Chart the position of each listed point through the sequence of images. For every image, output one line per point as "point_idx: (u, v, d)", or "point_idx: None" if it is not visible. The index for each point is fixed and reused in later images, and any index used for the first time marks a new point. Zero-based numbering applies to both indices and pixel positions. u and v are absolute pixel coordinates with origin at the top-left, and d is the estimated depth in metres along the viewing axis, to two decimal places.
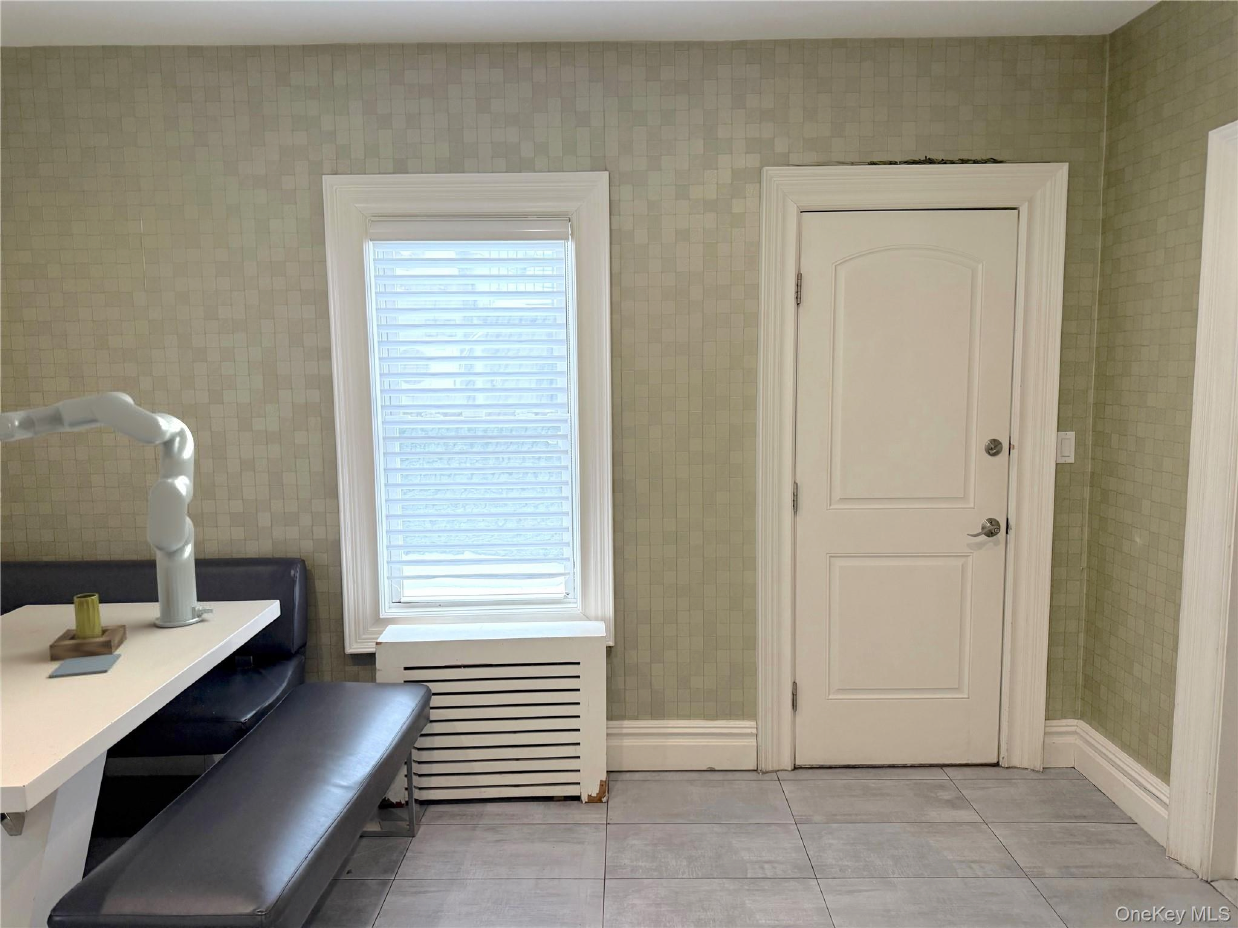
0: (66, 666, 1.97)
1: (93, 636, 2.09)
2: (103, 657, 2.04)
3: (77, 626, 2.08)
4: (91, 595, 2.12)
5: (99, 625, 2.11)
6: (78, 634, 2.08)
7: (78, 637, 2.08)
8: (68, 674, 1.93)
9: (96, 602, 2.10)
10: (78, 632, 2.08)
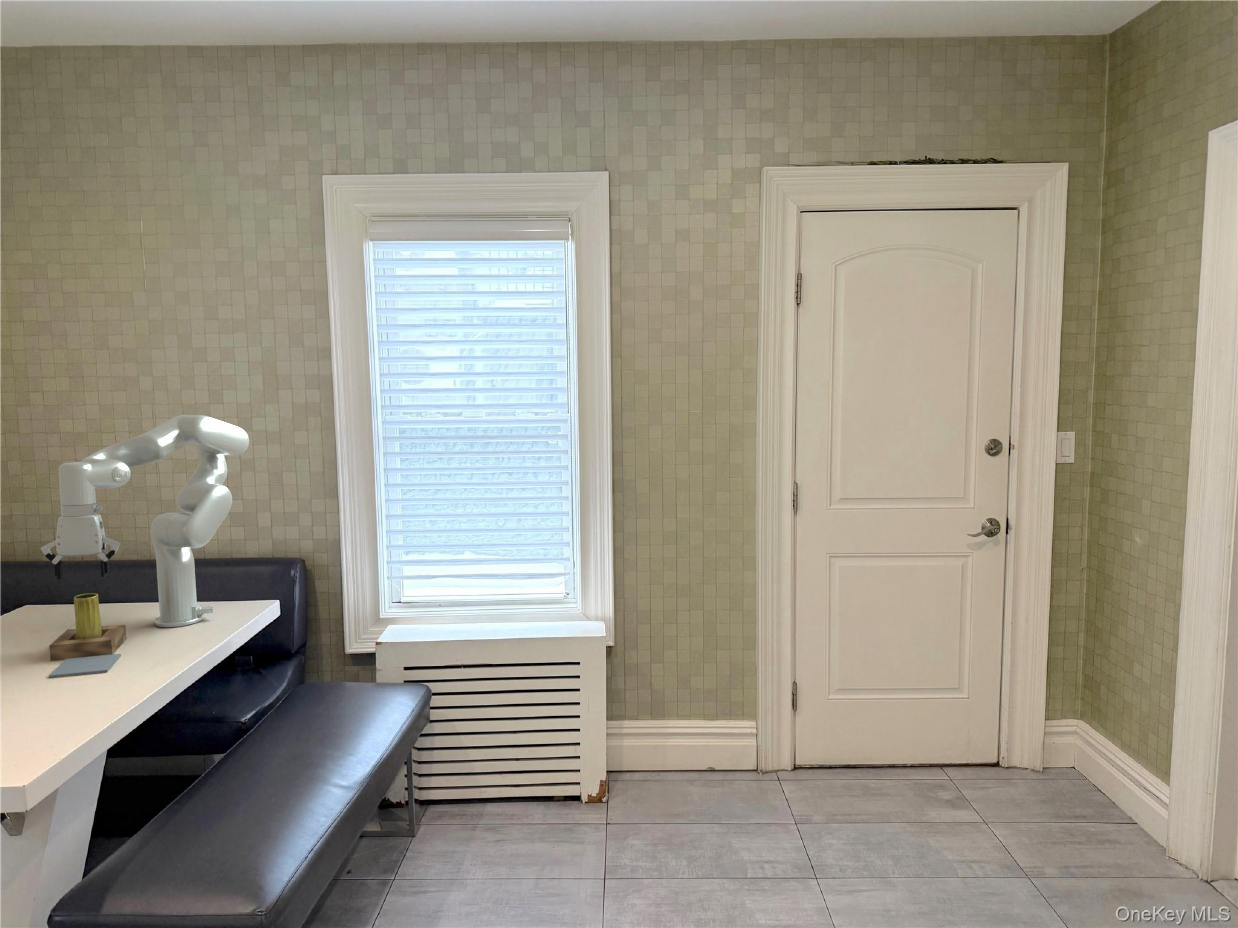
0: (66, 666, 1.97)
1: (93, 636, 2.09)
2: (103, 657, 2.04)
3: (77, 626, 2.08)
4: (91, 595, 2.12)
5: (99, 625, 2.11)
6: (78, 634, 2.08)
7: (78, 637, 2.08)
8: (68, 674, 1.93)
9: (96, 602, 2.10)
10: (78, 632, 2.08)
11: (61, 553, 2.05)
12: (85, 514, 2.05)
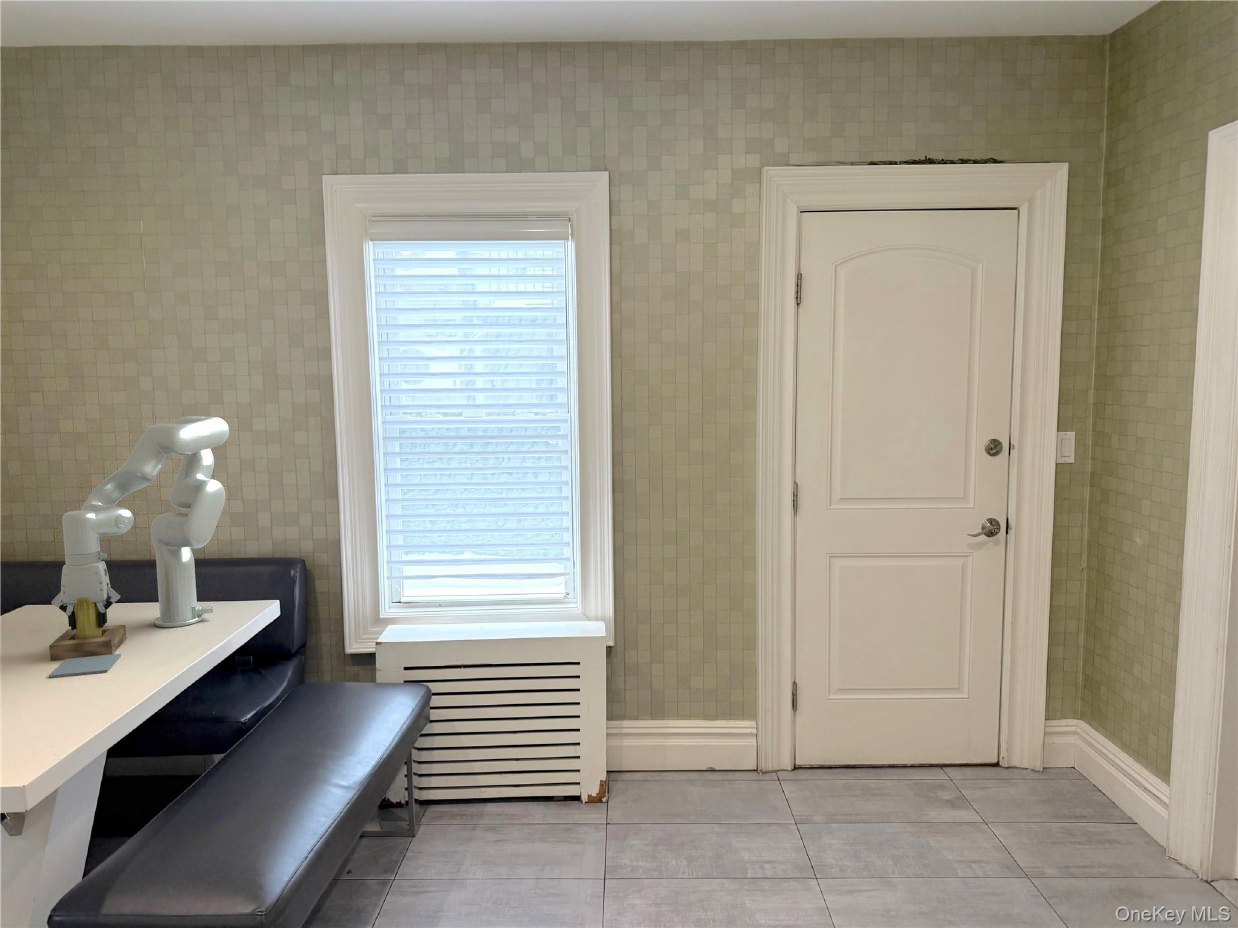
0: (66, 666, 1.97)
1: (93, 636, 2.09)
2: (103, 657, 2.04)
3: (77, 626, 2.08)
4: None
5: None
6: (78, 634, 2.08)
7: (78, 637, 2.08)
8: (68, 674, 1.93)
9: None
10: (78, 632, 2.08)
11: (66, 601, 2.07)
12: (89, 563, 2.07)
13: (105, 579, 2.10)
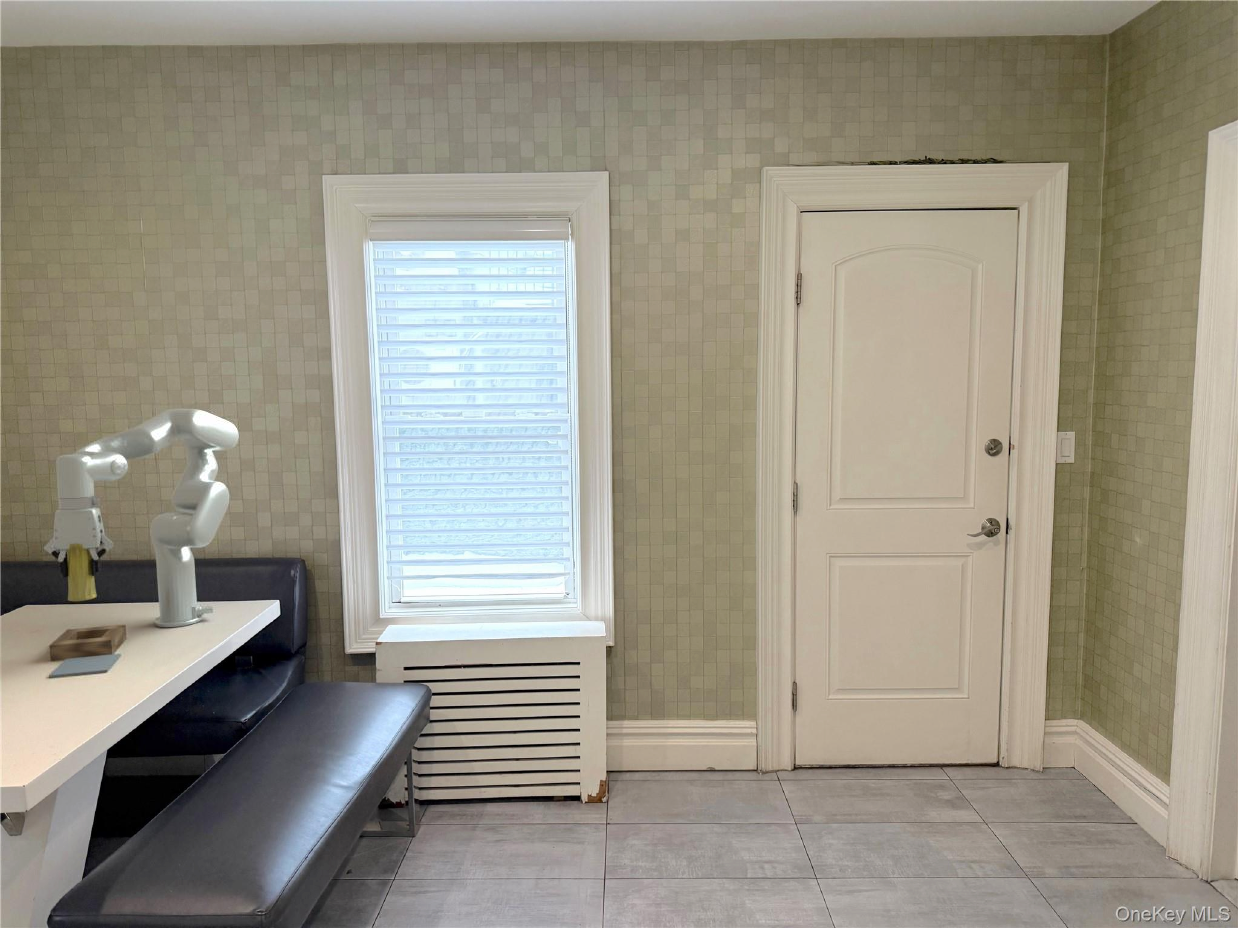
0: (66, 666, 1.97)
1: (85, 584, 2.03)
2: (103, 657, 2.04)
3: (69, 573, 2.02)
4: None
5: None
6: (70, 581, 2.02)
7: (70, 584, 2.02)
8: (68, 674, 1.93)
9: None
10: (70, 579, 2.02)
11: (58, 547, 2.01)
12: (83, 507, 2.01)
13: (99, 525, 2.04)
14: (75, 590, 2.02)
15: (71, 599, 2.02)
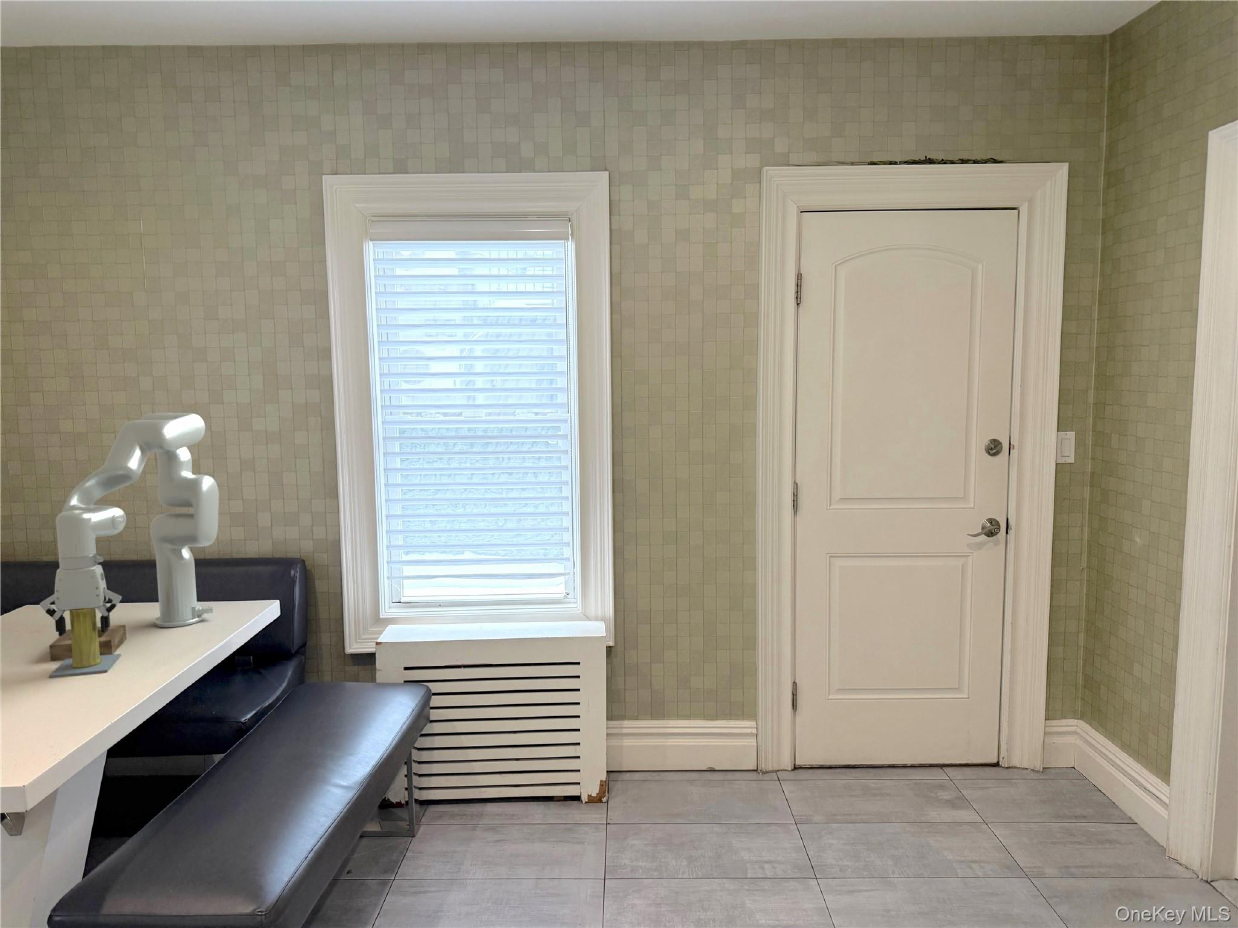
0: (66, 666, 1.97)
1: (90, 650, 1.97)
2: (103, 657, 2.04)
3: (73, 639, 1.96)
4: None
5: (97, 638, 1.99)
6: (74, 648, 1.96)
7: (74, 651, 1.96)
8: (68, 674, 1.93)
9: (93, 613, 1.98)
10: (74, 645, 1.96)
11: (60, 608, 1.94)
12: (85, 566, 1.94)
13: (102, 584, 1.97)
14: (79, 656, 1.96)
15: (75, 666, 1.96)
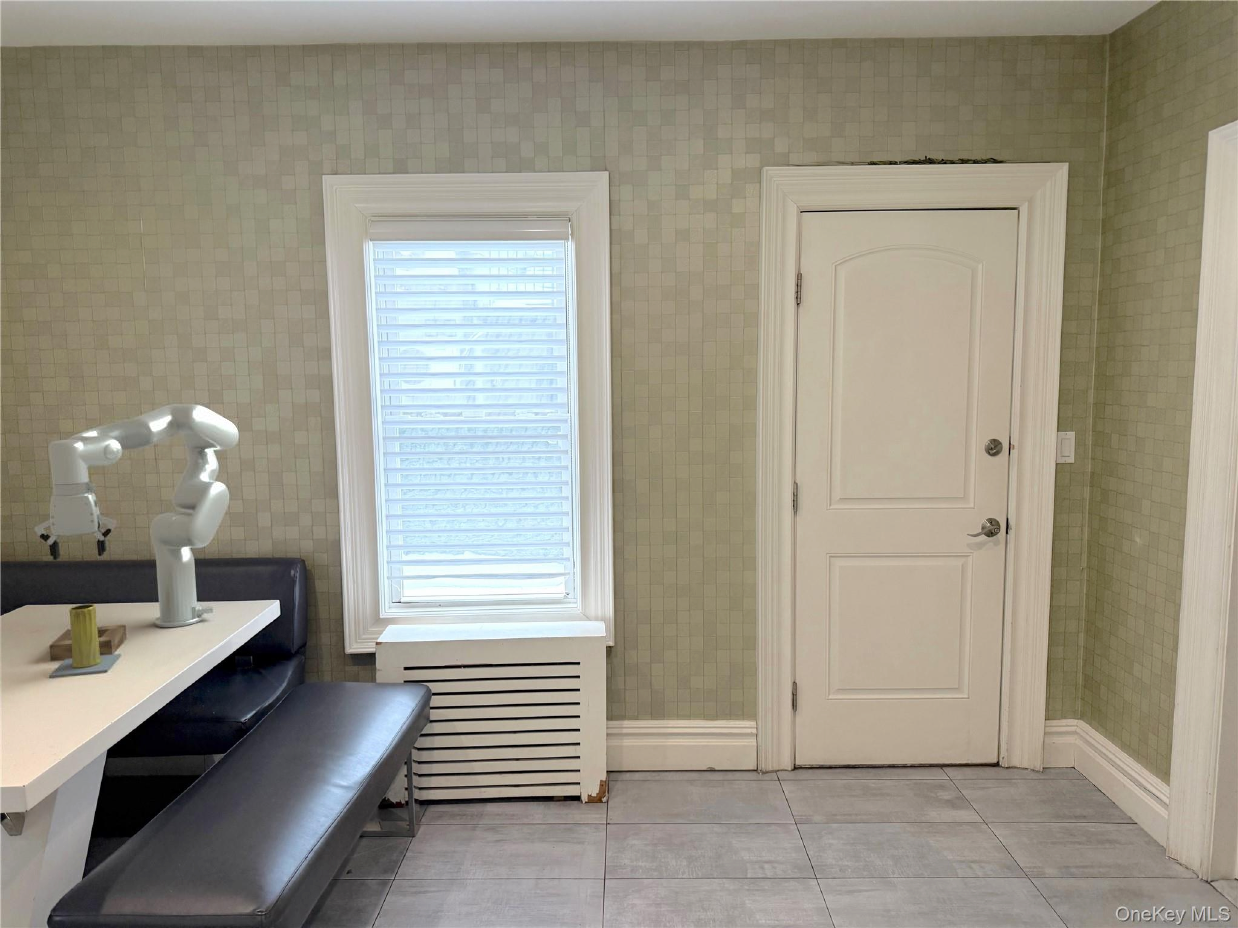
0: (66, 666, 1.97)
1: (90, 650, 1.97)
2: (103, 657, 2.04)
3: (73, 639, 1.96)
4: (88, 606, 2.00)
5: (97, 638, 1.99)
6: (74, 647, 1.96)
7: (74, 651, 1.96)
8: (68, 674, 1.93)
9: (93, 613, 1.98)
10: (74, 645, 1.96)
11: (56, 533, 2.01)
12: (79, 493, 2.01)
13: (95, 510, 2.04)
14: (79, 656, 1.96)
15: (75, 666, 1.96)
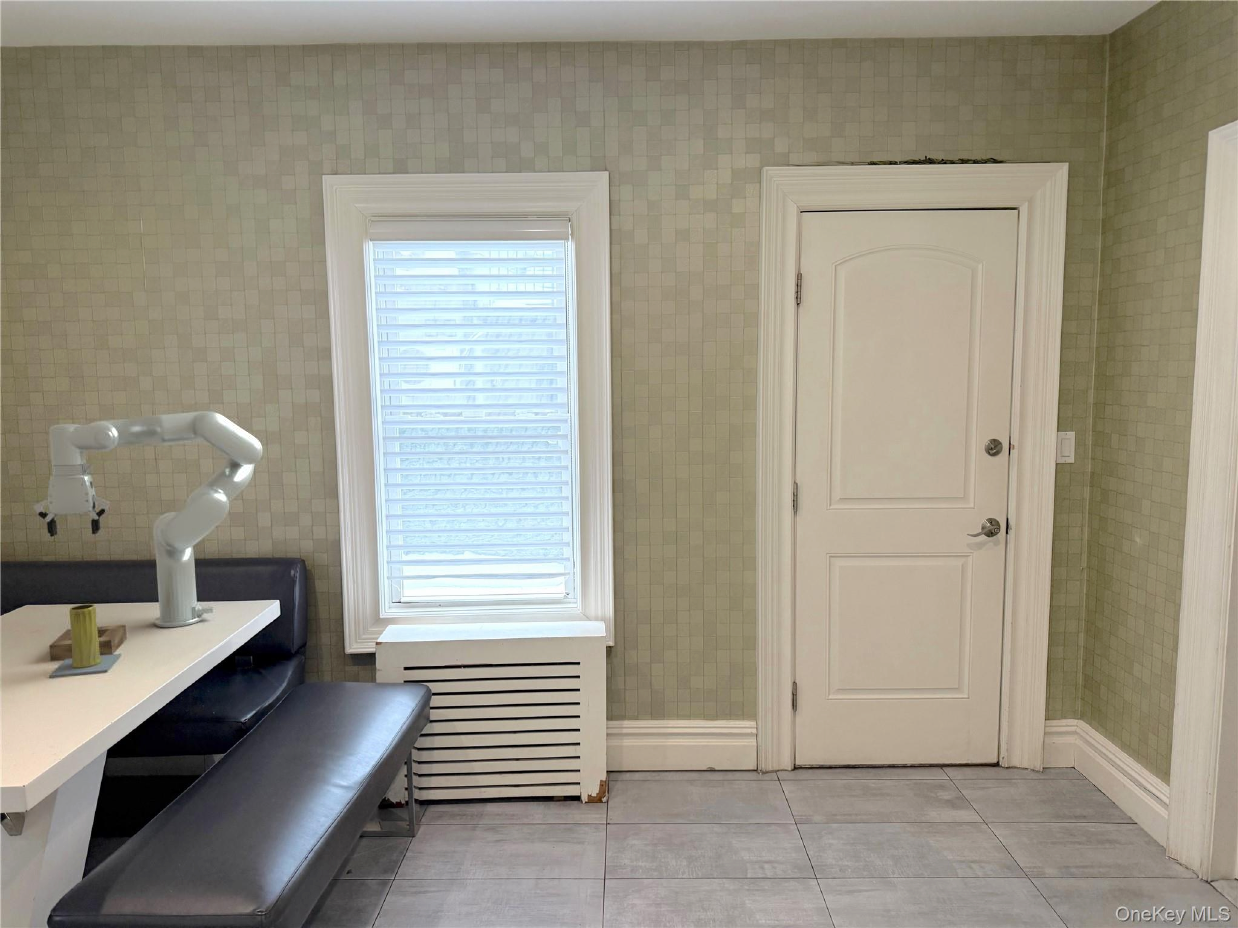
0: (66, 666, 1.97)
1: (90, 650, 1.97)
2: (103, 657, 2.04)
3: (73, 639, 1.96)
4: (88, 606, 2.00)
5: (97, 638, 1.99)
6: (74, 648, 1.96)
7: (74, 651, 1.96)
8: (68, 674, 1.93)
9: (93, 613, 1.98)
10: (74, 645, 1.96)
11: (53, 511, 2.14)
12: (75, 474, 2.14)
13: (91, 491, 2.17)
14: (79, 656, 1.96)
15: (75, 666, 1.96)
